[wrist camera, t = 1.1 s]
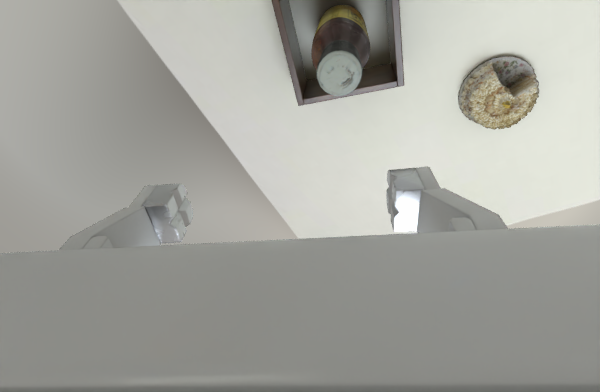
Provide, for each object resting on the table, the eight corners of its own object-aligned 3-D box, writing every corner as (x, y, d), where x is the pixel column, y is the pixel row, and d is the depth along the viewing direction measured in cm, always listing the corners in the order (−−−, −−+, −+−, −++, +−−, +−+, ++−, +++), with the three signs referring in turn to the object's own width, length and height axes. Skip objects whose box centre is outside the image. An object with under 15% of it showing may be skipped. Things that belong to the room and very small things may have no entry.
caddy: (388, -48, 41) (396, -44, 35) (397, 67, 49) (404, 85, 43) (277, -18, 44) (269, -10, 38) (302, 86, 52) (298, 106, 46)
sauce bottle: (368, 46, 47) (382, 106, 32) (323, 57, 49) (315, 121, 33) (360, -8, 44) (371, 31, 28) (311, 7, 45) (297, 51, 29)
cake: (513, 125, 53) (526, 145, 49) (447, 116, 53) (454, 136, 49) (550, 60, 46) (568, 77, 42) (474, 51, 46) (485, 67, 42)
